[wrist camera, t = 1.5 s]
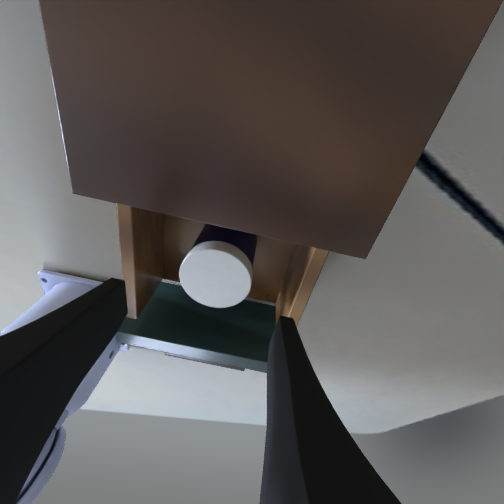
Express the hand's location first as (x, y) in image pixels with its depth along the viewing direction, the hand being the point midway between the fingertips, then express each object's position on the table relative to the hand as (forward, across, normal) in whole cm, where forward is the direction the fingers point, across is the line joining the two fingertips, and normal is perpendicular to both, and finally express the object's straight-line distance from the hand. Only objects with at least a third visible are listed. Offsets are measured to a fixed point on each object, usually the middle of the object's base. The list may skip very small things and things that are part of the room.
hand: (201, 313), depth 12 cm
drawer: (+9, 0, +2) cm, 9 cm away
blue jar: (+8, 0, 0) cm, 8 cm away
